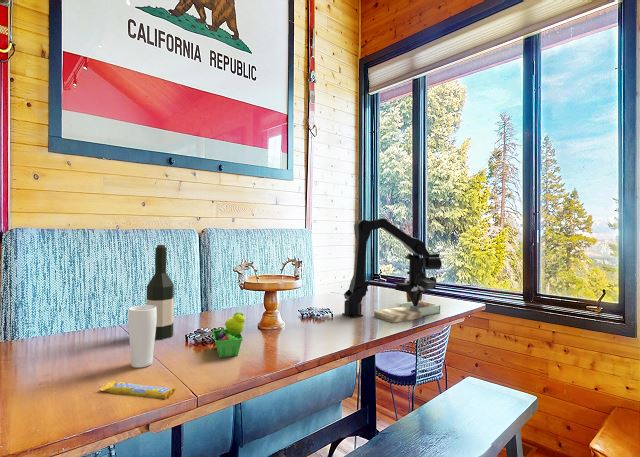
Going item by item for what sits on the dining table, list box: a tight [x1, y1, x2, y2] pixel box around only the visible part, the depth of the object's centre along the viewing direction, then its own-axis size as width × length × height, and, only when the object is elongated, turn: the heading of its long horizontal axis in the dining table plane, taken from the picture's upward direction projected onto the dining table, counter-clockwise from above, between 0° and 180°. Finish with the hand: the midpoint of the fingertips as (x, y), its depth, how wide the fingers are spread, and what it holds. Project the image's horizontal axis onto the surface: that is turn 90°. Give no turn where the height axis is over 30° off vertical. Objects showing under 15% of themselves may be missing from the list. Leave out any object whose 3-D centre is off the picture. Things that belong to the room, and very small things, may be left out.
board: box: [373, 306, 423, 324], centre depth 153 cm, size 16×11×2 cm
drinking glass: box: [127, 304, 157, 369], centre depth 97 cm, size 7×7×15 cm
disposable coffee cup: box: [403, 277, 424, 302], centre depth 178 cm, size 10×10×12 cm
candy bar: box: [98, 380, 177, 400], centre depth 82 cm, size 17×4×2 cm, turn 79°
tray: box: [399, 300, 441, 317], centre depth 162 cm, size 13×11×4 cm
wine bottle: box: [145, 244, 175, 341], centre depth 122 cm, size 8×8×30 cm
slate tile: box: [410, 305, 424, 311], centre depth 159 cm, size 4×4×3 cm
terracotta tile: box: [418, 301, 430, 307], centre depth 161 cm, size 4×4×3 cm
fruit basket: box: [212, 311, 246, 358], centre depth 109 cm, size 11×9×11 cm
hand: (415, 306), depth 158 cm, fingers closed, pressing on slate tile
